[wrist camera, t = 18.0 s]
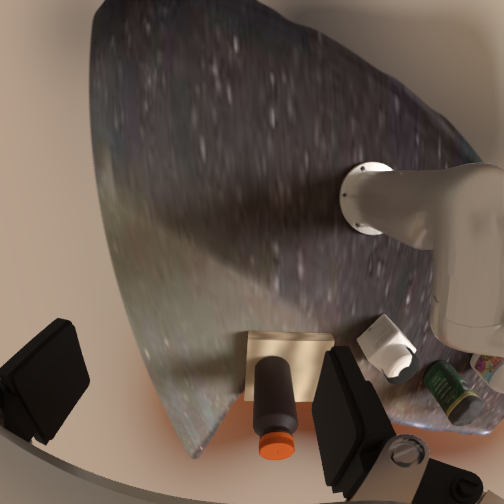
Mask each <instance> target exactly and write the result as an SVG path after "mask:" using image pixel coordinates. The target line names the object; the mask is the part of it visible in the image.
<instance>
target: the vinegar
mask: <svg viewBox="0 0 504 504" xmlns="http://www.w3.org/2000/svg"><path fill="white" fill-rule="evenodd" d="M297 427H298V420H297V412H296V405H295V398H294V391H293V384H292V377H291V370H290V365H289V363H288V362H287V361H286V360H285V359H283V358H281V357H278V356H269V357H265V358H263V359H261V360H260V361H259V362H258V363H257V364H256V366H255V373H254V408H253V429H254V431H255V433H256V434H257V435H259V436H260V440H259V454H260V455H261V456H262V457H263V458H265V459H268V460H282V459H286V458H288V457H290V456H291V455H292V454H293V453H294V451H295V449H294V440H293V436H292V434H293V433H294V432H295V431H296V429H297Z"/></svg>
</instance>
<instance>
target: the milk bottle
mask: <svg viewBox="0 0 504 504" xmlns="http://www.w3.org/2000/svg"><path fill="white" fill-rule="evenodd" d="M470 365H471V367H472V368H473V369H474V370H475V372H476V373H477V374H478V375H479V376H480V377H481V378H482V379H483V380H484V381H485V382H486V384H487V385H488V386H489V387H490V388H492V389H493V390H495V391H497V392H501V393H503V394H504V360H503V359H502V358H501V357H497V356H488V355H481V354H473V355H472V357H471V360H470Z"/></svg>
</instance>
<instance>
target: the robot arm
mask: <svg viewBox="0 0 504 504" xmlns="http://www.w3.org/2000/svg"><path fill="white" fill-rule="evenodd" d="M360 168H362V170H360ZM343 194H345V196H343ZM339 204H340V208H341V211H342V214H343V216H344V218H345V219H346V221H347V222H348V223H349V224H350V225H351V226H352V227H353V228H354V229H356V230H357V231H359V232H361V233H364V234H367V235H380V234H383V233H384V234H386V235H388V236H390V237H392V238H394V239H396V240H398V241H400V242H402V243H404V244H406V245H408V246H410V247H412V248H415V249H419V250H430V249H433V277H432V291H431V305H430V325H431V328H432V331H433V333H434V335H435V336H436V338H437V339H438V340H439V341H441V342H442V343H443V344H445V345H447V346H448V347H451V348H453V349H456V350H459V351H463V352H468V353H474V354H481V355H488V356H497V357H504V169H503V168H501V167H499V166H497V165H494V164H488V163H471V164H465V165H461V166H457V167H453V168H449V169H443V170H429V171H394V170H392V169H391V168H390V167H389V166H387V165H385V164H382V163H379V162H365V163H362V164H359V165H357V166H355V167H354V168H353V169H351V170H350V171H349V172H348V174H347V175H346V176H345V178H344V180H343V181H342V184H341V187H340V193H339ZM356 223H357V225H356V226H355V224H356ZM89 383H90V378H89V375H88V371H87V368H86V365H85V362H84V359H83V355H82V352H81V348H80V345H79V341H78V337H77V333H76V329H75V327H74V325H72V322H71V321H69V320H65V319H61V318H57V319H56V320H54V321H53V322H52V323H51V324H49V325H48V326H47V327H46V328H45V329H44V330H42V331H41V332H40V333H39V334H38V335H36V336H35V337H34V338H33V339H32V340H31V341H29V342H28V343H27V344H26V345H25V346H24V347H23V348H22V349H20V351H18V352H17V353H16V354H15V355H14V356H13V357H12V358H11V359H9V361H7V362H6V363H5V364H4V365H3V366H2V367H1V368H0V504H224V503H214V502H206V501H199V500H192V499H186V498H179V497H175V496H169V495H165V494H160V493H155V492H151V491H148V490H144V489H140V488H136V487H133V486H129V485H126V484H123V483H119V482H116V481H113V480H110V479H107V478H105V477H102V476H99V475H96V474H94V473H91V472H88V471H86V470H83V469H81V468H78V467H76V466H74V465H72V464H69V463H67V462H65V461H63V460H60V459H59V458H56V457H54V456H53V455H50V454H48V453H47V452H45V451H42V450H41V449H39V448H37V447H35V446H34V445H32V440H31V439H32V437H33V436H34V438H35V439H36V440H37V441H39V442H40V443H42V444H44V445H47V443H48V442H49V440H52V439H53V438H54V436H55V435H56V433H57V432H58V430H59V429H60V427H61V426H62V424H63V423H64V421H65V420H66V418H67V416H68V415H69V414H70V412H71V411H72V409H73V408H74V406H75V405H76V403H77V402H78V400H79V399H80V398H81V396H82V395H83V393H84V392H85V390H86V389H87V388H88V386H89ZM312 415H313V420H314V425H315V430H316V435H317V440H318V445H319V450H320V455H321V460H322V466H323V471H324V476H325V481H326V485H327V486H332V491H333V493H338V492H343V496H344V498H346V500H345V502H334V503H321V504H504V499H502V498H501V497H499V496H497V495H496V494H494V493H493V492H491V491H490V490H488V491H487V492H486V493H485V492H484V491H483V484H482V481H481V479H480V478H479V477H478V476H477V475H476V474H474V473H472V472H470V471H466V470H463V469H460V468H457V467H454V466H451V465H448V464H445V463H442V462H440V461H437V460H434V459H431V458H429V455H430V452H429V447H428V446H427V444H426V443H425V442H424V441H423V440H422V439H421V438H419V437H417V436H415V435H410V434H400V435H396V433H395V431H394V429H393V427H392V425H391V422H390V420H389V418H388V416H387V414H386V412H385V410H384V408H383V406H382V404H381V401H380V399H379V397H378V395H377V393H376V391H375V389H374V387H373V385H372V384H371V382H370V381H365V379H364V377H363V375H362V373H361V370H360V368H359V366H358V364H357V362H356V360H355V358H354V356H353V354H352V352H351V350H350V348H349V347H348V346H333V347H331V349H330V351H326V352H325V355H324V360H323V364H322V368H321V372H320V376H319V380H318V384H317V388H316V392H315V396H314V400H313V403H312Z"/></svg>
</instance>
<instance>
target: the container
mask: <svg viewBox="0 0 504 504" xmlns="http://www.w3.org/2000/svg"><path fill="white" fill-rule="evenodd" d="M357 342H358V343H359V345H360V347H361V349H362V351H363V352H364V354H365V356H366V358H367V360H368V361H369V362H370V363H371V364H373V365H374V366H375V367H376V368H377V369H379V370H380V371H381V372H382V373H383V374H384V375H385V377H386V378H387V380H388V382H389V383H391V384H402V383H404V382H406V381H408V380H409V379H410V378H412V377H413V376H414V374H415V373H416V371H417V369H418V366H419V359H418V358H417V356H416V355H415V354H414V353H415V352H416V349H415V347H414V346H413V345H412V344H411V342H410V341H409V340H408V339H407V338H406V336H405V335H404V334H403V333H402V332H401V331H400V330H399V328H398V327H397V326H396V325H395V324H394V323H393V322H392V321H391V320H390V319H389V318H388V317H387V316H386V315H385V314H382V315H381V316H380V317H379V318H378V319H377V320H376V321H375V322H374V323H373V324H372V325H371V326H370V327H369V328H368V329H367V330H366V331H365V332H364V333H363V334H362V335H361V336H360V337H358V338H357Z"/></svg>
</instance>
